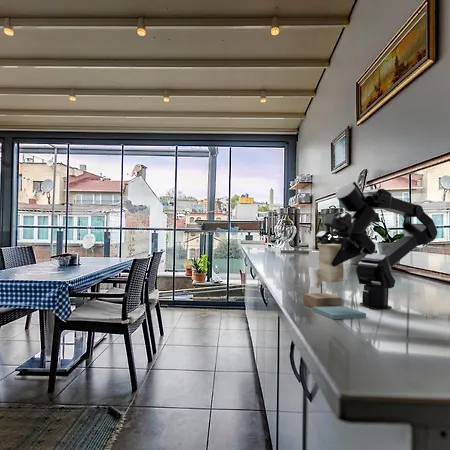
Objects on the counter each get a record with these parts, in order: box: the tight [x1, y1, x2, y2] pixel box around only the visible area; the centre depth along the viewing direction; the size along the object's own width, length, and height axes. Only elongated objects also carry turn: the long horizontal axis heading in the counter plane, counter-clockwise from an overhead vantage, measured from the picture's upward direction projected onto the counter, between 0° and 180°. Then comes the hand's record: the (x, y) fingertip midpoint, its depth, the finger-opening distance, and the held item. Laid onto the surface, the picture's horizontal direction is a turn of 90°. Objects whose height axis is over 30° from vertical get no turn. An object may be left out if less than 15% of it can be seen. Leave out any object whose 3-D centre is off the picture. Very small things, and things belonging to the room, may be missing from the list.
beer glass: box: [307, 250, 327, 294], centre depth 119 cm, size 7×7×15 cm
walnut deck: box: [302, 292, 342, 309], centre depth 101 cm, size 8×7×3 cm
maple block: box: [318, 243, 344, 284], centre depth 96 cm, size 4×4×10 cm
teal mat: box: [312, 305, 367, 320], centre depth 91 cm, size 10×9×1 cm
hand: (326, 264), depth 95 cm, fingers closed on maple block, 4 cm apart
